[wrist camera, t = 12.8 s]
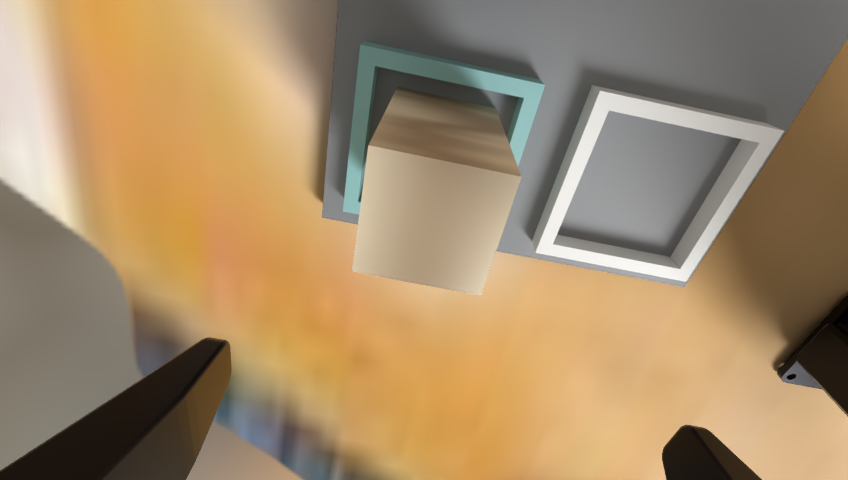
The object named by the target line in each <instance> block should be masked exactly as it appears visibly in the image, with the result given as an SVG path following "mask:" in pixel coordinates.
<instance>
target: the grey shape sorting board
mask: <svg viewBox="0 0 848 480" xmlns="http://www.w3.org/2000/svg"><path fill="white" fill-rule="evenodd" d="M847 38H848V0H339V2H338V15H337V28H336V41H335V54H334V67H333V80H332V93H331V106H330V119H329V132H328V145H327V159H326V172H325V185H324V198H323V211H322V218H327V219H332V220H337V221H343V222H348V223H353V224H358V220H359V213H360V205H361V198H362V190H363V183H364V175H365V167H366V160H367V152H368V145H369V143H370V141H371V139H372V137H373V135H374V133H375V131H376V129H377V127H378V125H379V123H380V121H381V119H382V117H383V115H384V113H385V111H386V109H387V107H388V105H389V103H390V101H391V99H392V97H393V95H394V93H395V91H396V89H397V87H399V88H403V89H408V90H413V91H417V92H422V93H427V94H431V95H436V96H441V97H445V98H450V99H455V100H459V101H464V102H468V103H473V104H478V105H482V106H487V107H492V108H496V110H497V113H498V115H499V118H500V121H501V123H502V126H503V129H504V131H505V134H506V137H507V139H508V142H509V145H510V147H511V150H512V153H513V155H514V158H515V160H516V163H517V166H518V168H519V171H520V174H521V176H522V177H521V180H520V183H519V186H518V189H517V192H516V195H515V198H514V201H513V204H512V207H511V209H510V212H509V215H508V218H507V221H506V224H505V227H504V230H503V233H502V236H501V239H500V242H499V244H498V247H497V250H496V251H498V252H504V253H509V254H514V255H519V256H524V257H530V258H535V259H540V260H545V261H550V262H555V263H561V264H566V265H571V266H576V267H581V268H587V269H592V270H597V271H602V272H607V273H613V274H618V275H623V276H628V277H633V278H639V279H644V280H649V281H654V282H659V283H664V284H670V285H675V286H680V287H685V285H686V284H687V282H688V281H689V279H690V278H691V276H692V275H693V273H694V272H695V270H696V269H697V267H698V266H699V264H700V263H701V261H702V259H703V258H704V256H705V255H706V253H707V252H708V250H709V249H710V247H711V246H712V244H713V243H714V241H715V240H716V238H717V237H718V235H719V234H720V232H721V230H722V229H723V227H724V226H725V224H726V223H727V221H728V220H729V218H730V217H731V215H732V214H733V212H734V211H735V209H736V208H737V206H738V204H739V203H740V201H741V200H742V198H743V197H744V195H745V194H746V192H747V191H748V189H749V188H750V186H751V185H752V183H753V182H754V180H755V179H756V177H757V175H758V174H759V172H760V171H761V169H762V168H763V166H764V165H765V163H766V162H767V160H768V159H769V157H770V156H771V154H772V153H773V151H774V149H775V148H776V146H777V145H778V143H779V142H780V140H781V139H782V137H783V136H784V134H785V133H786V131H787V130H788V128H789V127H790V125H791V124H792V122H793V120H794V119H795V117H796V116H797V114H798V113H799V111H800V110H801V108H802V107H803V105H804V104H805V102H806V101H807V99H808V98H809V96H810V94H811V93H812V91H813V90H814V88H815V87H816V85H817V84H818V82H819V81H820V79H821V78H822V76H823V75H824V73H825V72H826V70H827V68H828V67H829V65H830V64H831V62H832V61H833V59H834V58H835V56H836V55H837V53H838V52H839V50H840V49H841V47H842V46H843V44H844V43H845V41H846V39H847Z"/></svg>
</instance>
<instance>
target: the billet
mask: <svg viewBox="0 0 848 480" xmlns="http://www.w3.org/2000/svg"><path fill="white" fill-rule="evenodd" d="M521 177H522V176H521V174H520V171H519V168H518V166H517V163H516V160H515V158H514V155H513V153H512V150H511V147H510V145H509V142H508V139H507V137H506V134H505V131H504V129H503V126H502V123H501V121H500V118H499V115H498V113H497V110H496V108H492V107H487V106H482V105H478V104H473V103H468V102H464V101H459V100H455V99H450V98H445V97H441V96H436V95H431V94H427V93H422V92H417V91H413V90H408V89H403V88H399V87H397V89H396V91H395V93H394V95H393V97H392V99H391V101H390V103H389V105H388V107H387V109H386V111H385V113H384V115H383V117H382V119H381V121H380V123H379V125H378V127H377V129H376V131H375V133H374V135H373V137H372V139H371V141H370V143H369V145H368V152H367V160H366V167H365V175H364V183H363V190H362V198H361V205H360V213H359V220H358V228H357V236H356V243H355V251H354V258H353V266H352V272H358V273H363V274H368V275H374V276H379V277H384V278H390V279H395V280H400V281H405V282H411V283H416V284H421V285H427V286H432V287H437V288H443V289H448V290H453V291H459V292H464V293H469V294H475V295H480V296H481V294H482V291H483V288H484V285H485V282H486V279H487V277H488V274H489V271H490V268H491V265H492V262H493V259H494V256H495V253H496V250H497V247H498V244H499V242H500V239H501V236H502V233H503V230H504V227H505V224H506V221H507V218H508V215H509V212H510V209H511V207H512V204H513V201H514V198H515V195H516V192H517V189H518V186H519V183H520V180H521Z"/></svg>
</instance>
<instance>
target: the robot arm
mask: <svg viewBox="0 0 848 480" xmlns="http://www.w3.org/2000/svg"><path fill="white" fill-rule="evenodd" d="M777 375H778V376H779V377H780V378H781V380H782V381H783V382H786V383H791V384H796V385H802V386H807V387H813V388H818V389H823V390H824V391H825V392H826V393H827V395H828V396H829V397H830V398H831V399H832V400H833V401H834V402H835V403H836V404H837V405H838V406H839V408H840V409H841V410H842V411H843V412H844V413H845V414H846V415H847V416H848V296H847V297H846V298H845V299H844V300H843V301H842V302H841V303H840V304H839V305H838V306H837V307H836V308H835V310H834V311H833V312H832V313H831V314H830V315H829V316H828V317H827V318H826V319H825V320H824V321H823V323H822V324H821V325H820V326H819V327H818V328H817V329H816V330H815V331H814V332H813V333H812V334H811V336H810V337H809V338H808V339H807V340H806V341H805V342H804V343H803V344H802V345H801V346H800V347H799V349H798V350H797V351H796V352H795V353H794V354H793V355H792V356H791V357H790V358H789V359H788V360H787V362H786V363H785V364H784V365H783V366H782V367H781V368H780V369H779V370H778V372H777ZM230 377H231V352H230V344H229V342H228V341H226V340H221V339H216V338H209V337H208V338H205V339H202V340H201V341H199V342H198V343H196V344H195V345H193V346H191V347H190V348H188V349H187V350H185V351H184V352H182V353H181V354H179V355H178V356H176V357H175V358H173V359H171V360H170V361H168V362H167V363H165V364H164V365H162V366H161V367H159V368H158V369H156V370H154V371H153V372H151V373H150V374H148V375H147V376H145V377H144V378H142V379H141V380H139V381H138V382H136V383H134V384H133V385H131V386H130V387H128V388H127V389H125V390H124V391H122V392H121V393H119V394H118V395H116V396H114V397H113V398H111V399H110V400H108V401H107V402H105V403H104V404H102V405H101V406H99V407H97V408H96V409H94V410H93V411H91V412H90V413H88V414H87V415H85V416H84V417H82V418H81V419H79V420H78V421H76V422H74V423H73V424H71V425H70V426H68V427H67V428H65V429H64V430H62V431H61V432H59V433H57V434H56V435H55V436H53V437H51V438H50V439H48V440H47V441H45V442H44V443H42V444H40V445H39V446H37V447H36V448H34V449H33V450H31V451H30V452H28V453H27V454H25V455H24V456H22V457H20V458H19V459H17V460H16V461H14V462H13V463H11V464H10V465H8V466H7V467H5V468H4V469H2V470H0V480H186V478H187V476H188V475H189V473H190V471H191V469H192V467H193V465H194V463H195V461H196V459H197V456H198V454H199V452H200V450H201V447H202V445H203V443H204V440H205V438H206V435H207V433H208V431H209V428H210V426H211V424H212V421H213V419H214V416H215V414H216V412H217V409H218V407H219V404H220V402H221V400H222V397H223V395H224V393H225V390H226V388H227V385H228V383H229V380H230ZM662 461H663V465H664V470H665V475H666V480H762V479H761V478H759V477H758V476H757V475H756V474H755V473H754V472H753V471H752V470H751V469H750V468H749V467H748V466H747V465H746V464H744V463H743V462H742V461H741V460H740V459H739V458H738V457H737V456H736V455H735V454H734V453H733V452H732V451H731V450H729V449H728V448H727V447H726V446H725V445H724V444H723V443H722V442H721V441H720V440H719V439H718V438H717V437H716V436H714V435H713V434H712V433H711V432H710V431H709V430H707V429H705V428H702V427H697V426H692V425H684V426H682V427H681V428H680V429H679V430H678V431H677V432H676V433H675V434H674V436H673V437H672V438H671V439H670V440H669V442H668V443H667V444H666V445H665V447H664V449H663V452H662Z"/></svg>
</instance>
